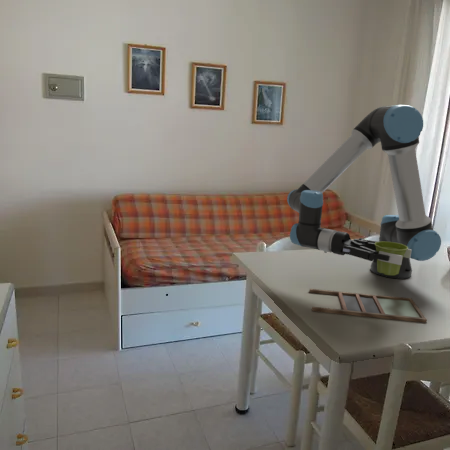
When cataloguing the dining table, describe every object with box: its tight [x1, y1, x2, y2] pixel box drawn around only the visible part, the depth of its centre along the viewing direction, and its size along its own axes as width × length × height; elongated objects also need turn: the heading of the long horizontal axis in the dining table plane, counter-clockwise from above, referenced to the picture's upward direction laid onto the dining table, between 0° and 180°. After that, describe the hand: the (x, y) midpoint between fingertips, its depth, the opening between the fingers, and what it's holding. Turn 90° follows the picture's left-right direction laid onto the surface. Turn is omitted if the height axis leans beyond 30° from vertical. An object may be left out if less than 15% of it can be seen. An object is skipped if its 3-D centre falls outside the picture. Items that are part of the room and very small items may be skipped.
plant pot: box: [375, 241, 408, 275], centre depth 127 cm, size 9×9×9 cm
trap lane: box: [308, 288, 428, 324], centre depth 132 cm, size 33×16×1 cm, turn 81°
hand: (406, 257), depth 124 cm, fingers closed on plant pot, 8 cm apart
